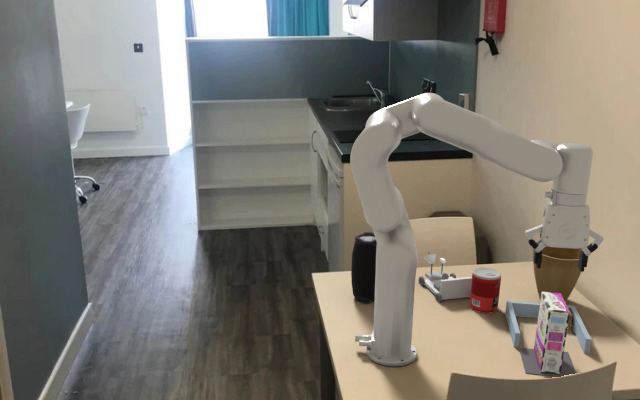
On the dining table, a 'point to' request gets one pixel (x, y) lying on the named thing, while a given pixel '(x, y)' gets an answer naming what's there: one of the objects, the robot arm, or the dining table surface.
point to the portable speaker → (364, 267)
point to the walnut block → (570, 320)
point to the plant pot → (557, 271)
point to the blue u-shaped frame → (533, 311)
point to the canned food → (485, 290)
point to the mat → (533, 367)
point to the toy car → (445, 282)
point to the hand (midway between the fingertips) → (559, 267)
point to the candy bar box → (551, 332)
